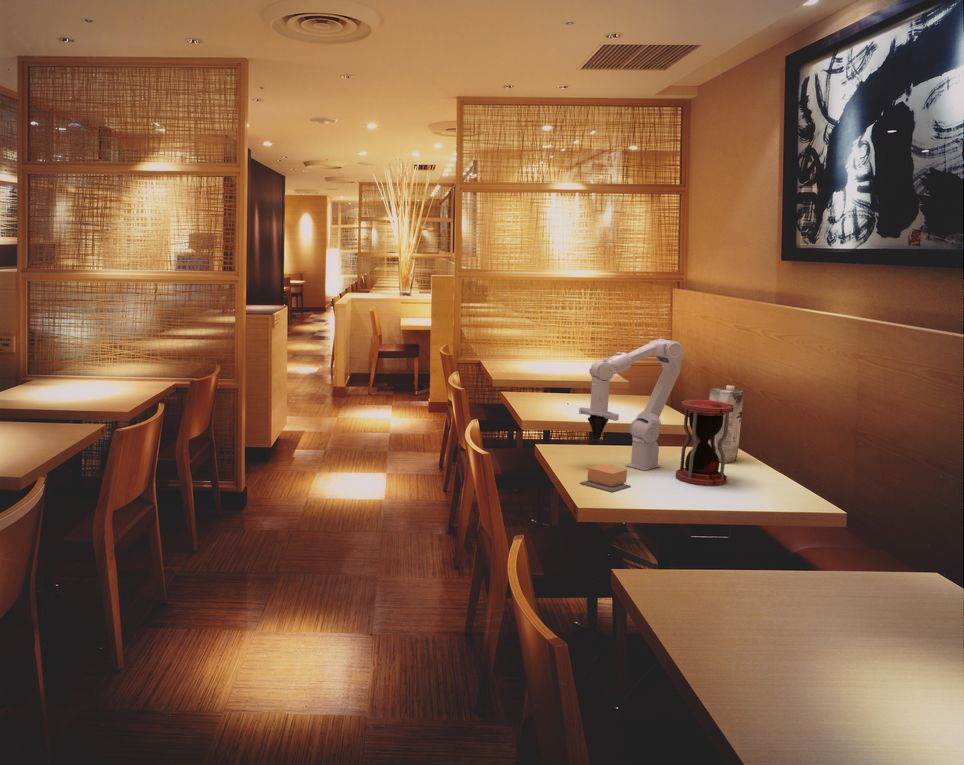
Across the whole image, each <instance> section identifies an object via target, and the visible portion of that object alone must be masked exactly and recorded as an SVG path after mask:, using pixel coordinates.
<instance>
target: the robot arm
mask: <svg viewBox="0 0 964 765" xmlns="http://www.w3.org/2000/svg"><path fill="white" fill-rule="evenodd" d="M684 354H685V352H684V349H683V347H682V344H681V343H680V342H679V341H676V340H669V339H664V338H661V337H660V338H656V339H655V340H651V341H649V342H648V343H646V344H645V345H643V346H640V347H638V348H636V349H634V350H632V351H630V352H628V353H626V352H624V351H622V352H621V351H618V352H616V353H615V354H614V355H613V356H610V357H604V358H603V360H602V361H601V360H596V361H594V362H593V363H592V364H591V365H590V366H591V367H590V368H589V371H588V372H589V374H590V376H591V391H590V406H589V407H579V408H578V414H580V415H586V416H589V417H587V421H588V423H589V426H590V428H591V432H592V438H593V439H594V440H600V439H601V437H602V434H603V431H604V429H605V426H606V425H607V423H608V421H609V420H610V421H611V420H612V421H613V422H616V421H619V418H620V415H619V414H618V413H615V412H611V411H608V410H609V394H610V383H611V382H610V380H611V379H612V378H613V376H615V375H616V374H619V373H621V372H623V371H625V370H628V369H630V368H631V365H632V364H634V363H636V362H638V361H641V360H643V359H645V358H646V359H647V358H649V357H651V356H653V357H654V356H655V358H656V359H657V361H659V362H660V363H659V364H660V365H661V366H662V371H661V373H660V375H659V377H658V380H657V382H656V384H655V385H654V388H653V390H652V393H651V394H650V396H649V399H648V400H647V402H646V406H645V408H644V410H643V411H641V412H640V413H638V414H637V416H636V418H635V419H634V420H633V421H632V422H631V423H630V426H629V433H630V435H631V436H632V437H631V438H632V444H631V445H632V446H631V447H632V448H631V459H630V462H629V463H626V464H625V467H629V468H632V469H638V470H642V471H648V470H652V469H655V468H658V467H659V468H660V467H661V465H660V464H658V463H659V453H660V447H659V444H658V442H657V440H658V439H659V437H660V436H659V435H660V429H661V427H662V423H661V419H660V418H661V414H662V412H663V410H664V408H665V406H666V403H667V401H668V399H669V396H670V394H671V392H672V390H673V388H674V386H675V384H676V381H677V380H678V377H679V375H680V373H681V371H682V370H681V369H682V358H683V357H684Z"/></svg>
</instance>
